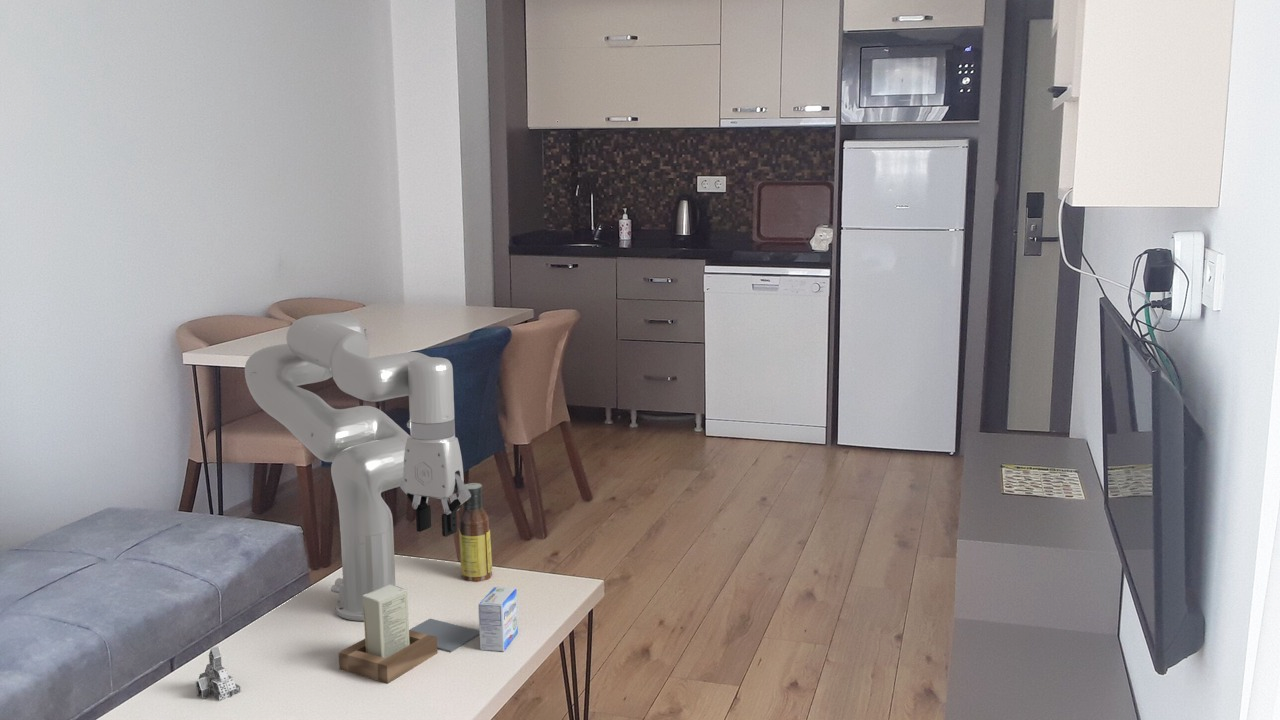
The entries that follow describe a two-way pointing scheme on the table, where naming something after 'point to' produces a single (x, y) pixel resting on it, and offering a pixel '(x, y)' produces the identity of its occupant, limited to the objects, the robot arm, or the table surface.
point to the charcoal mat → (446, 634)
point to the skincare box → (386, 621)
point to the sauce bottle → (475, 538)
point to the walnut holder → (394, 665)
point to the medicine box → (498, 619)
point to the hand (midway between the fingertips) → (436, 530)
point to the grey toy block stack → (216, 679)
